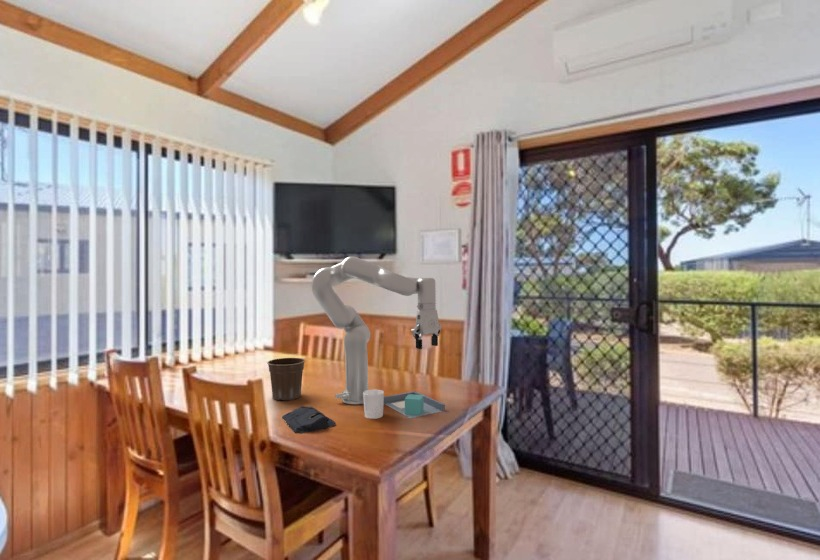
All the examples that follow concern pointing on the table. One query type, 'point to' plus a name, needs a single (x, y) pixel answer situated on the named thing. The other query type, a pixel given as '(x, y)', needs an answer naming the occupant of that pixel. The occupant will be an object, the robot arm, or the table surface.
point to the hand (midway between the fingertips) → (426, 347)
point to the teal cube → (414, 404)
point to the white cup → (373, 403)
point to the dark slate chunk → (307, 420)
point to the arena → (399, 404)
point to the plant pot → (286, 377)
